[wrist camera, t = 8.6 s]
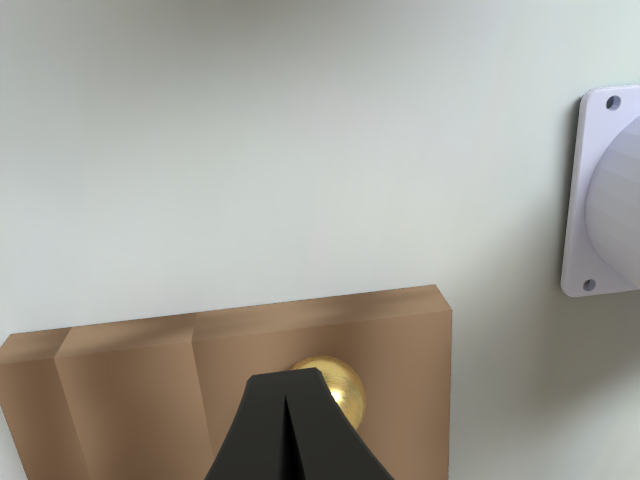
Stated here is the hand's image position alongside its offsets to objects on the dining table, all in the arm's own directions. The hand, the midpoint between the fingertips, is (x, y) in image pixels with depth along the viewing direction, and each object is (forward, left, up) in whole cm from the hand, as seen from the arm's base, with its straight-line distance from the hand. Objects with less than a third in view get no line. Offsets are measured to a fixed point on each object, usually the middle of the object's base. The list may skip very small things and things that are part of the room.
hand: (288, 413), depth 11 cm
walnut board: (+2, +12, -10) cm, 16 cm away
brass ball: (-1, +5, -6) cm, 8 cm away
